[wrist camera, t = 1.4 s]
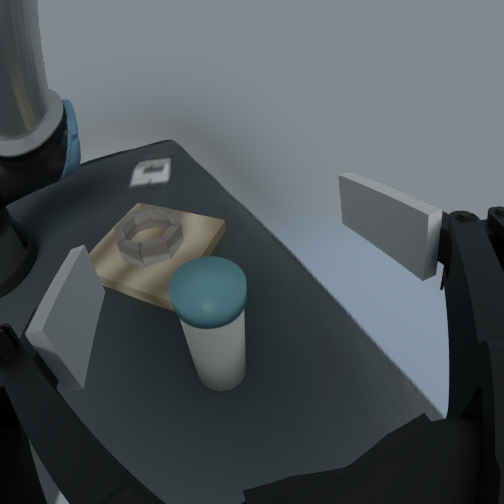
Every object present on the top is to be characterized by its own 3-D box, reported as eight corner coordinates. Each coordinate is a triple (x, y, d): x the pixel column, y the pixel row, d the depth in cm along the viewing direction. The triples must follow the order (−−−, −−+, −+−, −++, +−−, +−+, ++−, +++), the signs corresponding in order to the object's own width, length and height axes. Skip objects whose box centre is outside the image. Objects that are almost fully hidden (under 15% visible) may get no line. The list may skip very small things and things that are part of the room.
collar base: (82, 276, 40) (69, 251, 36) (140, 212, 51) (134, 187, 47) (175, 312, 36) (167, 284, 32) (225, 230, 47) (224, 203, 44)
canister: (187, 382, 29) (154, 301, 20) (207, 341, 33) (189, 249, 24) (237, 400, 28) (229, 325, 19) (254, 356, 32) (256, 266, 22)
